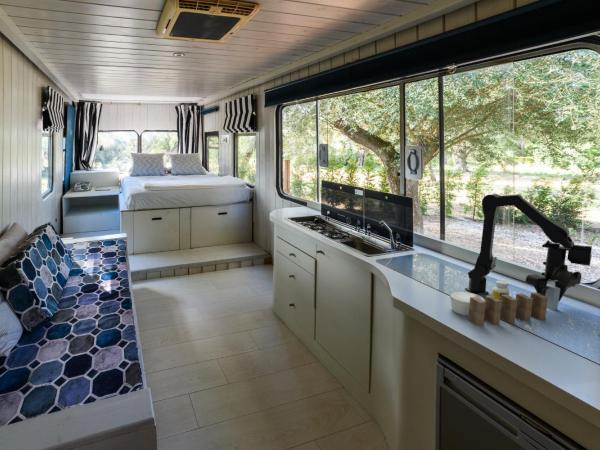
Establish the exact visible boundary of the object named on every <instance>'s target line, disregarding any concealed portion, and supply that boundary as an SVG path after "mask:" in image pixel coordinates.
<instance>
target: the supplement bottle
mask: <svg viewBox="0 0 600 450" xmlns="http://www.w3.org/2000/svg"><path fill="white" fill-rule="evenodd" d="M508 287H509V282H508V281H507V280H506V281H505V280H502V279H501V280H500V279H499V280H495V286H493V288H492V293H491V294H492V295H491V296H493V297H495V298H497V299H499V300H501V295H509V296H510V289H509V288H508Z"/></svg>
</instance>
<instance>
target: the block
mask: <svg viewBox="0 0 600 450" xmlns="http://www.w3.org/2000/svg"><path fill="white" fill-rule="evenodd" d="M547 286H548V287H550V288H548V289H547V290H546V295H545V296H546V297H548V301H547V309H549V310H551V311H556V310H558V308H559V302H560V301H559V294H560V288H558V287H555V285H552V284H550V283H547ZM558 301H559V302H558Z"/></svg>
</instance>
